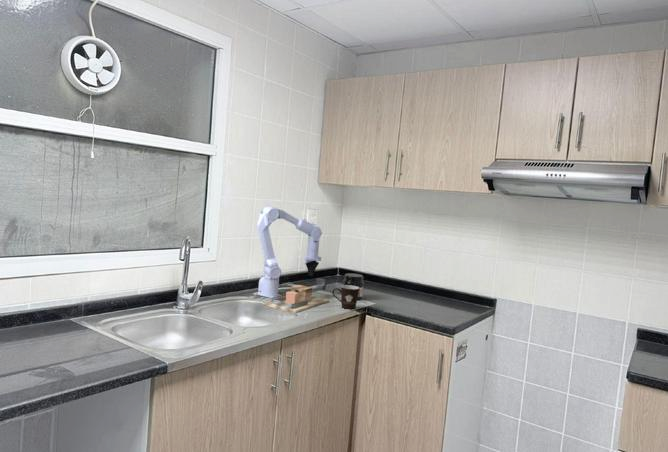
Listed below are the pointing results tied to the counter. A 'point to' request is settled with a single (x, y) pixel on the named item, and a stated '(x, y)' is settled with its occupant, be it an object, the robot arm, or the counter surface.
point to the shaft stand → (303, 303)
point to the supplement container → (355, 282)
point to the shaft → (317, 286)
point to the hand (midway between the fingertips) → (310, 275)
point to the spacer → (292, 297)
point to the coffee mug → (348, 296)
